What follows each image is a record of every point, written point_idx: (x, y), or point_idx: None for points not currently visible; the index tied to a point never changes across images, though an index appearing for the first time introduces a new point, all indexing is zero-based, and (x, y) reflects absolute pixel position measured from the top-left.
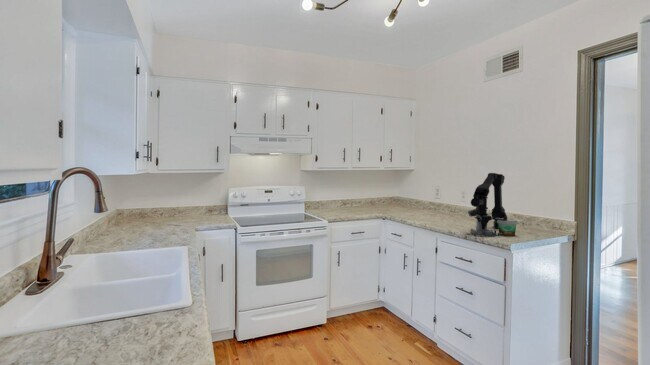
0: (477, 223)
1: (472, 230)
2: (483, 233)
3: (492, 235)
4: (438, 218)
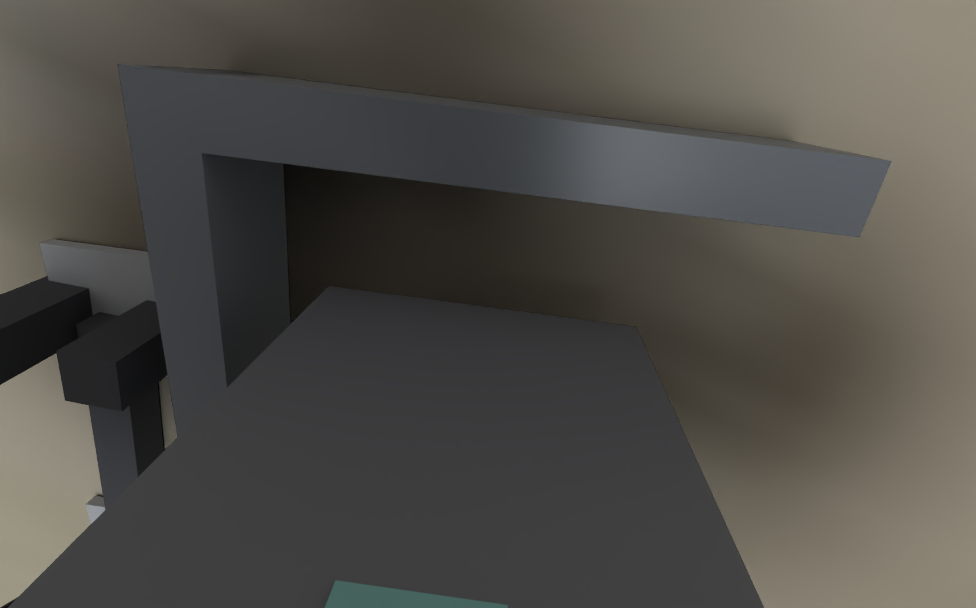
0: (478, 580)
1: (572, 119)
2: (140, 332)
3: (108, 485)
4: None
